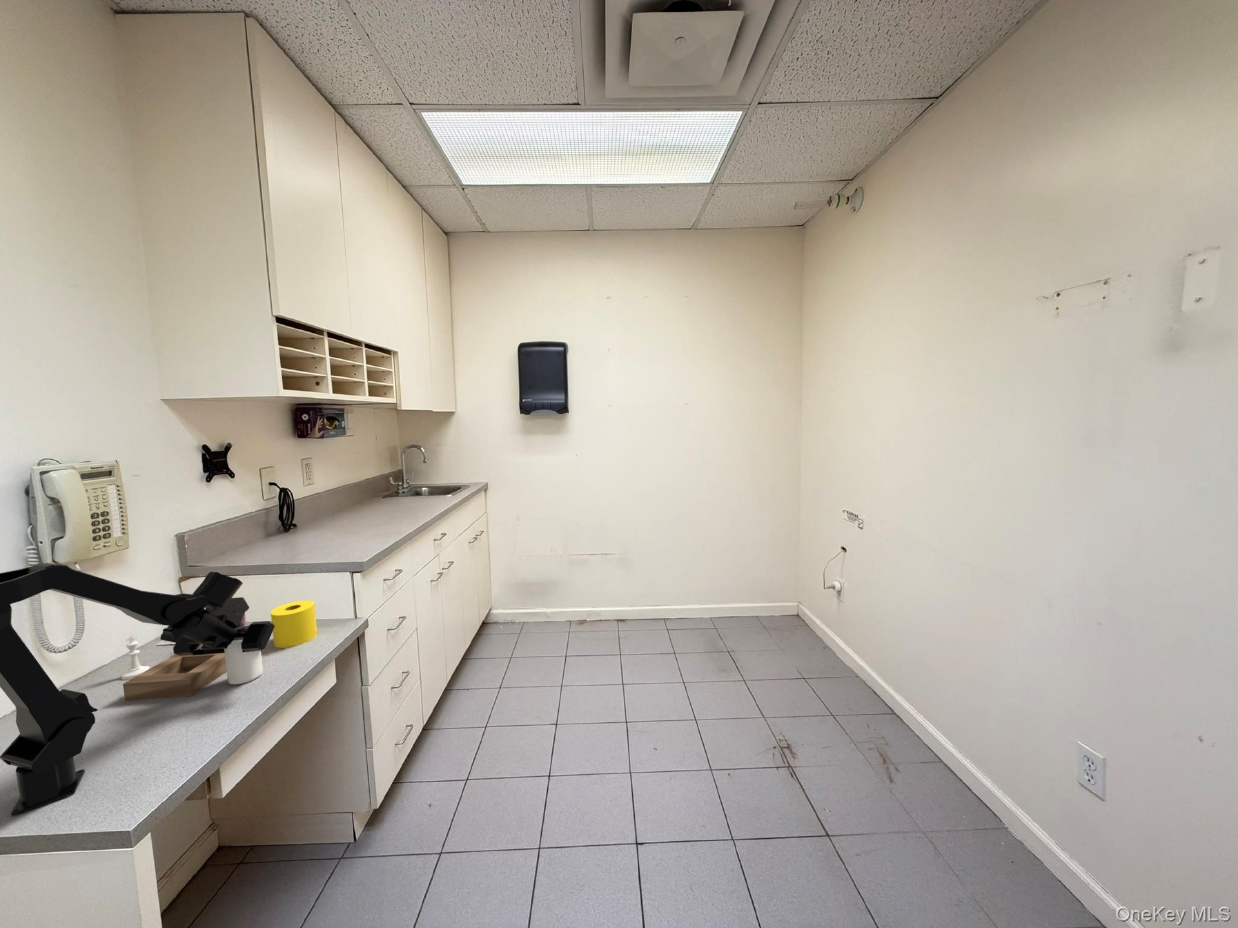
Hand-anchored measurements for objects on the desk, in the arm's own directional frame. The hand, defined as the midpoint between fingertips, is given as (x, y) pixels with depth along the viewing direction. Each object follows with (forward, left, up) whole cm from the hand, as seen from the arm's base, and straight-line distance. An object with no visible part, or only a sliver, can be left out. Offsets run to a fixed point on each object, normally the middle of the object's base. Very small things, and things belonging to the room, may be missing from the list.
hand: (247, 649), depth 106 cm
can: (-1, +1, -7) cm, 7 cm away
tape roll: (+15, -10, -7) cm, 19 cm away
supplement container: (+27, +4, -7) cm, 28 cm away
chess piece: (+21, +22, -7) cm, 31 cm away
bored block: (+8, +12, -7) cm, 16 cm away
